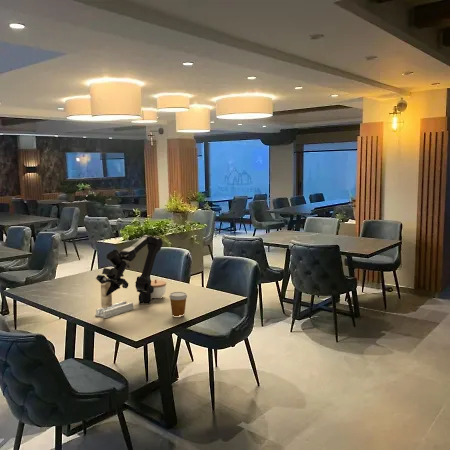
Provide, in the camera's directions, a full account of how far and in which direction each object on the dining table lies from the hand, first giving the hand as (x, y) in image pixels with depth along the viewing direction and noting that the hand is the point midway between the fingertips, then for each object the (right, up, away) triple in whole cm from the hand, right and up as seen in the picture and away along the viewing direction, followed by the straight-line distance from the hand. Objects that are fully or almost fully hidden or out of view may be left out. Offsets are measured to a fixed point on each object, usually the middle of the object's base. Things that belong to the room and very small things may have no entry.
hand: (104, 295), depth 242 cm
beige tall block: (+1, -6, +2) cm, 7 cm away
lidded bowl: (+21, -8, +40) cm, 46 cm away
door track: (+3, -11, +11) cm, 16 cm away
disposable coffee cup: (+38, -12, +6) cm, 40 cm away
